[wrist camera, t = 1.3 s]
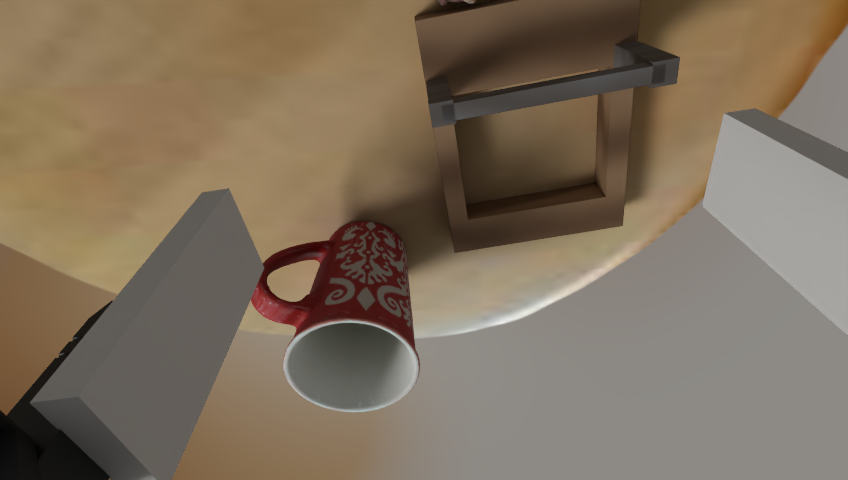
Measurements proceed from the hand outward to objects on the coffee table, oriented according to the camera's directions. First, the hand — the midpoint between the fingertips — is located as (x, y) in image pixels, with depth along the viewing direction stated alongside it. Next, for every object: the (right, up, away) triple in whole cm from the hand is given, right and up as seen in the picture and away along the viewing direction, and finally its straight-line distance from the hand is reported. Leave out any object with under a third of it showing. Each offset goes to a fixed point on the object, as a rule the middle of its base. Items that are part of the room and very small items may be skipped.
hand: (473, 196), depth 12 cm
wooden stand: (+7, +8, +22) cm, 24 cm away
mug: (-8, -1, +28) cm, 29 cm away
